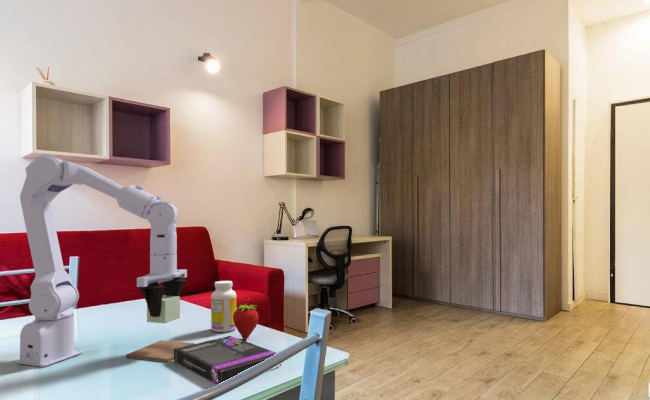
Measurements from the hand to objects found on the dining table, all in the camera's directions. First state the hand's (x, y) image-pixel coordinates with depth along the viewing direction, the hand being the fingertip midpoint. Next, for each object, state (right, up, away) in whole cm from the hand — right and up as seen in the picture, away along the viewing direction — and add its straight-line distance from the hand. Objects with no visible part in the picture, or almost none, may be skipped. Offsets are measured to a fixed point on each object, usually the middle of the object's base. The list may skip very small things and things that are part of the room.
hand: (163, 313), depth 96 cm
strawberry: (+17, -9, +8) cm, 21 cm away
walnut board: (0, -8, -1) cm, 8 cm away
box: (+16, -9, -9) cm, 21 cm away
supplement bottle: (+10, -9, +17) cm, 22 cm away
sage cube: (0, -1, 0) cm, 1 cm away
